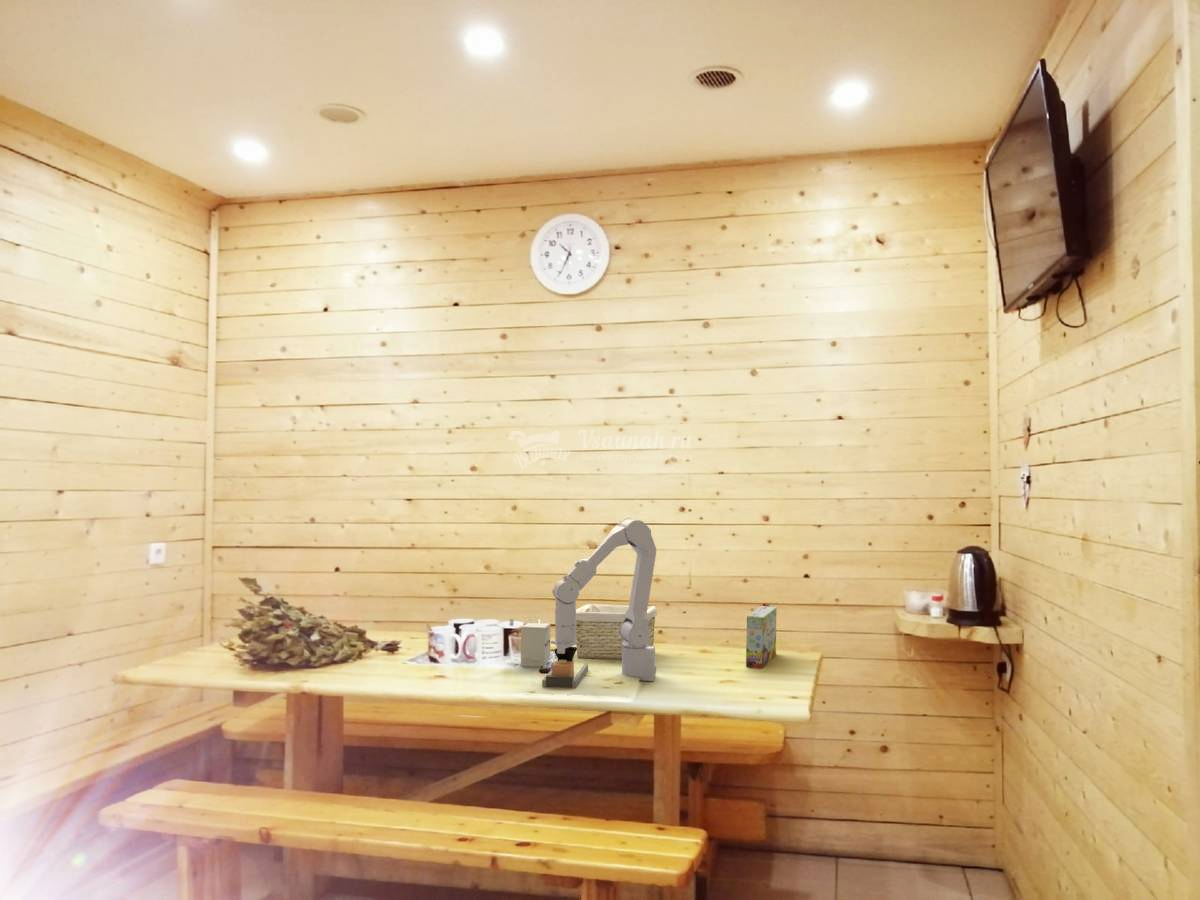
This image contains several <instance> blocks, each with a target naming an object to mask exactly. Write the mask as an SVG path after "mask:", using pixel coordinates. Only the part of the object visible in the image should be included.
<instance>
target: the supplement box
mask: <svg viewBox="0 0 1200 900" xmlns="http://www.w3.org/2000/svg"><path fill="white" fill-rule="evenodd" d="M549 660H550V661H551V623H546V622H545V623H543V622H542V623H541V622H539V623H538V622H527V623H525V624H524V625H523V626H520V667H532V668H534V667H536V668H537V667H539V668H542V667H541V666H545V665H546V664H547V663H548V661H549ZM548 664H549V663H548ZM548 664H547V665H548ZM547 665H546V666H547ZM546 666H545V667H546Z"/></svg>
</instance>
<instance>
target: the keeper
mask: <svg viewBox="0 0 1200 900" xmlns="http://www.w3.org/2000/svg"><path fill="white" fill-rule="evenodd" d="M574 664H575V663H574V660H573V661H567V660H559V661H558V660H555V661H554V662H553V663H552V665H551V669H552V675H559V676H573V679H574V678H575V674H574V673H575V669H574V668H575V665H574Z"/></svg>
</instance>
